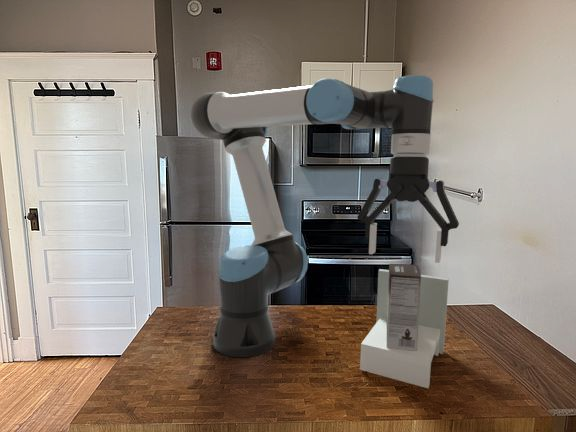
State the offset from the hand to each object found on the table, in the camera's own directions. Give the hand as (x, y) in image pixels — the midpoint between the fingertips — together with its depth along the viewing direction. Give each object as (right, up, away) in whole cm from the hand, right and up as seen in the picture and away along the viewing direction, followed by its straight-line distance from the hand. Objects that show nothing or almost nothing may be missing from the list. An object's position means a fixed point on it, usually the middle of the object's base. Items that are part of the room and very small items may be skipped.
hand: (403, 257), depth 79 cm
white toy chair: (+1, -24, +5) cm, 25 cm away
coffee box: (0, -19, +2) cm, 19 cm away
